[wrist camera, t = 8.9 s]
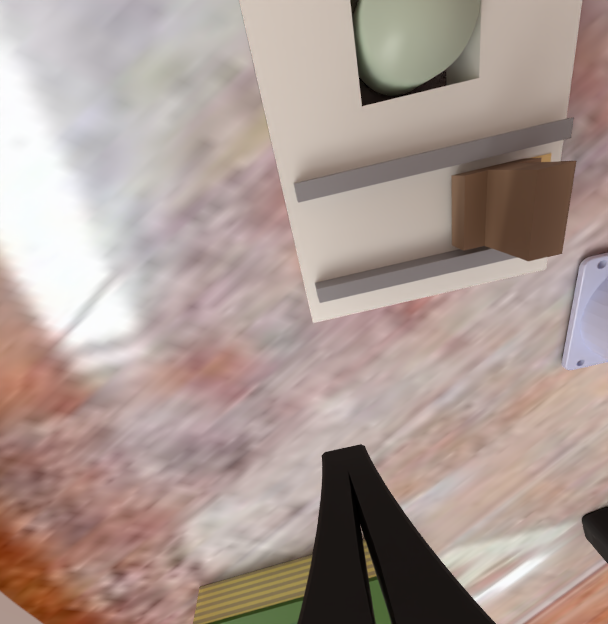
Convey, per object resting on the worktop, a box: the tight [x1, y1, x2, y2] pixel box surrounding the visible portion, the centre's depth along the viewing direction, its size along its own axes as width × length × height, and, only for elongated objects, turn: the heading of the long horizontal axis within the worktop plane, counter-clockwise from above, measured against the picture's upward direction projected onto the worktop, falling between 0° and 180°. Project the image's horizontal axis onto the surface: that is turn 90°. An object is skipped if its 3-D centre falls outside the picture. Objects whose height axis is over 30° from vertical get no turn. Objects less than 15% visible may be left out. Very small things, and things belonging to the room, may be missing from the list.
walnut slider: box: [451, 158, 576, 261], centre depth 12 cm, size 3×3×4 cm
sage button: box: [352, 0, 480, 96], centre depth 11 cm, size 4×4×2 cm
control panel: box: [239, 0, 582, 323], centre depth 11 cm, size 12×22×3 cm, turn 12°
